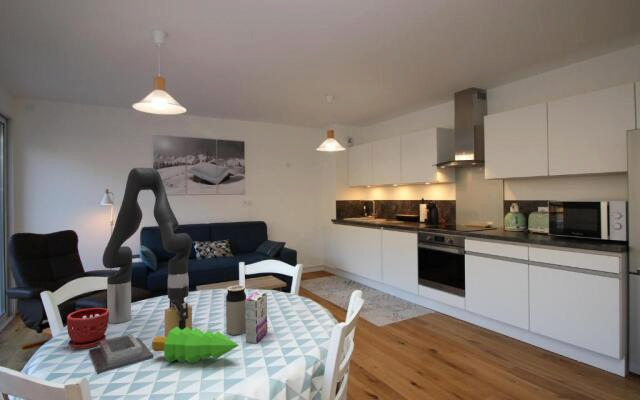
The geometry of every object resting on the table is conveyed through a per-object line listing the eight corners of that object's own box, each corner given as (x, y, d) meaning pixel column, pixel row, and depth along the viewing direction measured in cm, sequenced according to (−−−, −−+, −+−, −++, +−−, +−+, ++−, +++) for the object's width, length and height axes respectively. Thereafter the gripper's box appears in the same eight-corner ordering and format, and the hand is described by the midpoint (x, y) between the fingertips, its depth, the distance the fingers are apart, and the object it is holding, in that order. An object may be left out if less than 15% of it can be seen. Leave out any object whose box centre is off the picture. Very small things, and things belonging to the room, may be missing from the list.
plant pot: (63, 354, 117) (63, 320, 117) (71, 341, 129) (70, 310, 129) (107, 347, 123) (107, 314, 123) (110, 334, 135) (110, 305, 135)
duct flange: (88, 352, 119) (88, 341, 119) (138, 340, 129) (138, 329, 129) (97, 373, 104) (97, 361, 104) (153, 357, 114) (153, 346, 114)
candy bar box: (256, 331, 136) (255, 291, 137) (267, 332, 135) (267, 292, 136) (244, 343, 125) (244, 299, 126) (257, 344, 124) (256, 299, 125)
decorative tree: (160, 319, 117) (241, 319, 112) (169, 344, 121) (248, 345, 116) (140, 344, 107) (228, 346, 102) (151, 370, 111) (236, 373, 106)
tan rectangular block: (164, 340, 129) (164, 309, 129) (188, 334, 135) (188, 304, 135) (168, 343, 126) (167, 311, 126) (192, 337, 132) (191, 306, 132)
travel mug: (250, 329, 139) (249, 286, 139) (238, 336, 131) (237, 290, 132) (235, 326, 142) (234, 284, 142) (222, 333, 135) (221, 288, 135)
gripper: (162, 283, 133) (162, 324, 133) (174, 289, 123) (174, 334, 122) (181, 280, 138) (182, 319, 138) (194, 286, 128) (195, 328, 127)
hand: (178, 326), depth 130 cm, fingers open, 8 cm apart
